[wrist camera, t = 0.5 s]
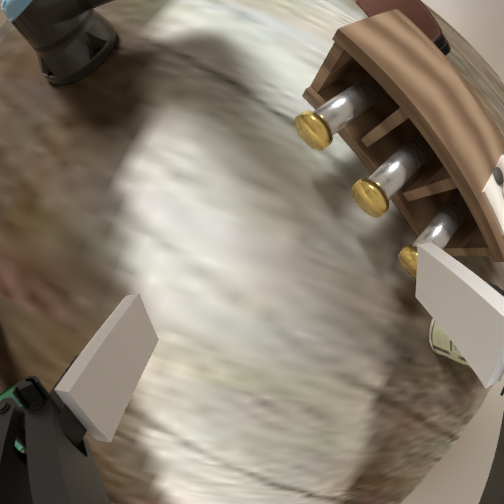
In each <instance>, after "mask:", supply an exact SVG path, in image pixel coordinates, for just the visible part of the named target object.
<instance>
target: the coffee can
mask: <svg viewBox="0 0 504 504" xmlns="http://www.w3.org/2000/svg"><path fill="white" fill-rule="evenodd" d="M429 343H430V346H431V348H432V350H433V351H434V352H435V353H437V354H440V355H443V356H445V357H448V358H450V359H452V360H454V361H457V362H459V363H461V364H464V365H466V366H468V367H470V368H471V366H470V365H469V364H468V362H467V361H466V360H465V358H464V357H463V356H462V354H461V353H460V352H459V350H458V349H457V348H456V346H455V345H454V344H453V342H452V341H451V340H450V338H449V337H448V336H447V335H446V333H445V332H444V331H443V330H442V328H441V327H440V326H439V325H438V323H437V322H436V321H435V320H434V318H432V321H431V324H430V329H429Z"/></svg>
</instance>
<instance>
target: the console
mask: <svg viewBox="0 0 504 504" xmlns="http://www.w3.org/2000/svg"><path fill="white" fill-rule="evenodd" d="M332 40H334V41H335V43H334V44H333V46H332V48H331V50H330V51H329V53H328V55H327V57H326V59H325V60H324V62H323V64H322V66H321V68H320V70H319V71H318V73H317V75H316V77H315V79H314V80H313V82H312V84H311V86H310V87H308V88H307V89H306V90H305V92H304V93H303V95H302V96H303V97H304V98H305V99H306V100H307V101H308V102H309V103H310V104H311V105H312V106H313V107H314V108H315V109H318V108H319V107H321V106H322V105H324V104H325V103H327V102H328V101H330V100H331V99H333V98H334V97H336V96H337V95H339V94H340V93H342V92H343V91H345V90H346V89H348V88H349V87H351V86H352V85H354V84H356V83H357V82H359V81H360V80H362V79H364V78H365V77H367V76H372V77H373V78H374V79H375V80H376V81H377V82H378V83H379V84H380V85H381V86H382V87H383V88H384V89H385V96H384V97H383V98H382V99H380V100H379V101H378V102H376V103H375V104H374V105H372V106H371V107H370V108H368V109H367V110H366V111H364V112H363V113H362V114H360V115H359V116H358V117H356V118H355V119H354V120H352V121H351V122H350V123H348V124H347V125H346V126H344V127H343V128H342V129H341V130H339V131H338V134H339V135H340V136H341V137H342V138H343V139H344V140H345V141H346V143H347V144H348V145H349V146H350V147H351V148H352V150H353V151H354V152H355V153H356V154H357V156H358V157H359V158H360V159H361V160H362V162H363V163H364V164H365V165H366V167H367V168H368V169H369V170H370V172H371V173H372V174H373V173H374V172H375V171H376V170H377V169H378V168H379V167H380V166H381V165H382V164H383V163H384V162H386V161H387V160H388V159H389V158H390V157H391V156H392V155H393V154H394V153H395V152H396V151H397V150H398V149H399V148H400V147H401V146H402V145H403V144H404V143H405V142H406V141H407V140H408V139H409V138H410V137H411V136H412V135H413V134H415V133H420V134H422V135H423V137H424V138H425V139H426V141H427V142H428V143H429V145H430V146H431V148H432V149H433V152H432V154H431V155H430V156H429V157H428V158H427V160H426V161H425V162H424V163H423V164H422V165H421V166H420V168H419V169H418V170H417V171H416V172H415V173H414V174H413V175H412V176H411V177H410V179H409V180H408V181H407V182H406V183H405V184H404V185H403V186H402V187H401V188H400V189H399V190H398V192H397V193H396V194H395V195H394V196H393V197H392V198H391V199H392V201H393V202H394V204H395V205H396V206H397V208H398V209H399V211H400V212H401V214H402V215H403V216H404V218H405V219H406V221H407V222H408V224H409V225H410V227H411V228H412V230H413V231H414V233H415V235H416V236H417V238H418V237H419V236H420V235H421V234H422V232H423V231H424V230H425V229H426V227H427V226H428V225H429V223H430V222H431V221H432V220H433V218H434V217H435V216H436V214H437V213H438V212H439V210H440V209H441V208H442V206H443V205H444V204H445V202H446V201H447V200H448V198H449V197H450V195H451V194H452V193H460V194H461V195H462V197H463V198H464V200H465V202H466V204H467V206H468V207H469V209H470V210H469V211H468V213H467V215H466V216H465V218H464V219H463V221H462V222H461V224H460V225H459V227H458V228H457V230H456V231H455V233H454V234H453V236H452V237H451V239H450V240H449V241H448V243H447V244H446V246H445V247H444V248H443V251H445V252H446V253H447V254H449V255H450V256H492V258H493V260H494V262H504V138H503V136H502V135H501V133H500V131H499V129H498V128H497V126H496V124H495V123H494V121H493V119H492V118H491V116H490V115H489V113H488V112H487V110H486V109H485V107H484V106H483V104H482V103H481V101H480V100H479V98H478V97H477V95H476V94H475V93H474V91H473V90H472V88H471V87H470V86H469V84H468V83H467V82H466V80H465V79H464V78H463V77H462V75H461V74H460V73H459V72H458V70H457V69H456V68H455V67H454V66H453V64H452V63H451V62H450V61H449V60H448V58H447V57H446V56H445V55H444V54H443V53H442V52H441V51H440V50H439V48H438V47H437V46H436V45H435V44H434V43H433V42H432V41H431V40H430V39H429V38H428V37H427V36H426V35H425V34H424V33H423V32H422V31H421V30H420V29H419V28H418V27H417V26H416V25H415V24H414V23H413V22H412V21H411V20H409V19H408V18H407V17H406V16H405V15H404V14H403V13H402V12H400V11H399V10H398V9H394V10H391V11H387V12H384V13H381V14H378V15H375V16H372V17H369V18H366V19H363V20H360V21H357V22H355V23H352V24H349V25H347V26H344V27H342V28H339V29H338V30H337V32H336V33H335V35H334V37H333V39H332Z"/></svg>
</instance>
